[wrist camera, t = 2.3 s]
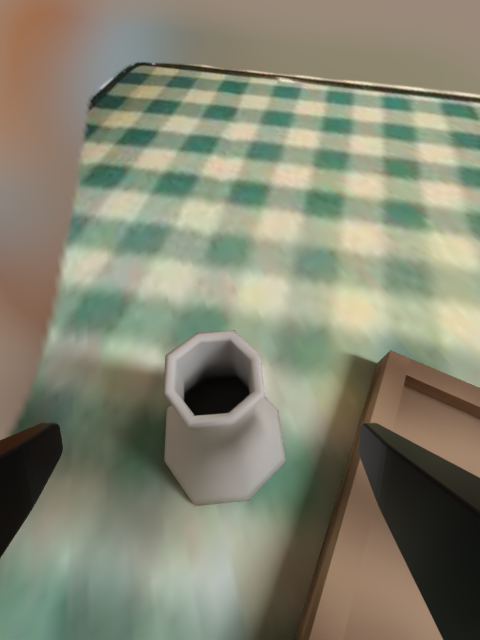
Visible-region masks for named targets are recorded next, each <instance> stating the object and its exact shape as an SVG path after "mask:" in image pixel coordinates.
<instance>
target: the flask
mask: <svg viewBox="0 0 480 640" xmlns="http://www.w3.org/2000/svg"><path fill="white" fill-rule="evenodd" d="M163 394H164V396H165V397H166V399H167V400H168V401H169V403H170V404H171V406H170V407H168V409H167V411H166V431H165V451H164V462H165V463H166V464H167V466H168V467H169V469H170V470H171V472H172V473H173V475H174V476H175V478H176V479H177V481H178V482H179V484H180V485H181V487H182V488H183V489H184V491H185V492H186V494H187V495H188V497H189V498H190V500H191V501H192V503H193V504H194V506H198V505H208V504H218V503H229V502H239V501H249V500H250V499H251V498H252V497H253V495H254V494H255V493H256V492H257V491H258V490H259V489H260V488H261V487H262V486H263V485H264V484H265V483H266V482H267V481H268V480H269V479H270V478H271V476H272V475H273V474H274V473H275V472H276V471H277V470H278V469H279V468H280V467H281V466H282V465H283V464H284V463H285V462H286V459H285V452H284V445H283V438H282V432H281V425H280V418H279V411H278V409H277V408H276V407H275V406H274V405H273V404H272V403H271V402H270V401H269V400H268V399H267V398H266V397H265V390H264V382H263V375H262V367H261V359H260V355H259V354H258V353H257V352H256V351H255V350H254V349H253V348H252V347H251V346H250V345H249V344H248V343H247V342H246V341H245V340H244V339H243V338H242V337H241V336H240V335H239V334H238V333H237V332H236V331H235V330H232V331H216V332H200V333H196V334H195V335H193V336H192V337H190V338H189V339H188V340H186V341H185V342H183V343H182V344H181V345H179V346H178V347H176V348H175V349H174V350H172V351H171V352H169V353H168V354H167V355H166V357H165V375H164V392H163Z"/></svg>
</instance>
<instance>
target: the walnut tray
mask: <svg viewBox="0 0 480 640" xmlns="http://www.w3.org/2000/svg"><path fill="white" fill-rule="evenodd" d="M363 423H378V424H380V425H381V426H383V427H385V428H387V429H389V430H391V431H393V432H395V433H396V434H398V435H400V436H402V437H404V438H406V439H408V440H410V441H412V442H413V443H415V444H417V445H419V446H421V447H423V448H425V449H427V450H428V451H430V452H432V453H434V454H436V455H438V456H440V457H442V458H444V459H445V460H447V461H449V462H451V463H453V464H455V465H457V466H459V467H461V468H462V469H464V470H466V471H468V472H470V473H472V474H474V475H476V476H478V477H479V478H480V388H478V387H476V386H474V385H471V384H469V383H467V382H464V381H462V380H459V379H457V378H455V377H452V376H450V375H448V374H445V373H443V372H441V371H438V370H436V369H434V368H431V367H429V366H426V365H424V364H422V363H419V362H417V361H415V360H412V359H410V358H408V357H405V356H403V355H401V354H398V353H396V352H393V351H391V350H390V351H389V352H388V353H387V354H386V355H385V356H384V357H383V358H382V359H381V360H380V361H379V362H378V363H377V367H376V370H375V373H374V377H373V380H372V383H371V387H370V390H369V393H368V397H367V400H366V403H365V407H364V410H363V413H362V417H361V420H360V423H359V427H358V430H357V433H356V437H355V440H354V443H353V447H352V450H351V453H350V457H349V460H348V463H347V466H346V470H345V473H344V476H343V480H342V483H341V486H340V490H339V493H338V496H337V500H336V503H335V506H334V510H333V513H332V516H331V520H330V523H329V526H328V530H327V533H326V536H325V540H324V543H323V546H322V550H321V553H320V556H319V560H318V563H317V566H316V570H315V573H314V576H313V580H312V583H311V586H310V590H309V593H308V596H307V600H306V603H305V606H304V610H303V613H302V616H301V620H300V623H299V626H298V630H297V633H296V636H295V640H443V638H442V636H441V634H440V632H439V630H438V628H437V626H436V624H435V622H434V620H433V618H432V616H431V614H430V612H429V610H428V608H427V606H426V603H425V601H424V599H423V597H422V595H421V593H420V591H419V589H418V587H417V585H416V583H415V581H414V579H413V577H412V575H411V573H410V571H409V569H408V567H407V564H406V562H405V560H404V558H403V556H402V554H401V552H400V550H399V548H398V546H397V544H396V542H395V540H394V538H393V536H392V534H391V532H390V530H389V527H388V525H387V523H386V521H385V519H384V517H383V515H382V513H381V511H380V509H379V506H378V504H377V501H376V499H375V496H374V494H373V491H372V488H371V486H370V483H369V480H368V477H367V475H366V472H365V469H364V467H363V464H362V461H361V458H360V456H359V451H358V445H359V436H360V428H361V425H362V424H363Z"/></svg>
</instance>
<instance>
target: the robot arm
mask: <svg viewBox="0 0 480 640" xmlns="http://www.w3.org/2000/svg"><path fill="white" fill-rule="evenodd" d="M62 450H63V445H62V439H61V433H60V427H59V425H58V424H57V423H40V424H38V425H36V426H33V427H31V428H29V429H26V430H24V431H22V432H19V433H17V434H14V435H12V436H10V437H7V438H5V439H3V440H0V558H1V556H2V555H3V553H4V552H5V550H6V549H7V547H8V546H9V544H10V542H11V541H12V539H13V538H14V536H15V535H16V533H17V532H18V530H19V529H20V527H21V526H22V524H23V523H24V521H25V520H26V518H27V516H28V515H29V513H30V512H31V510H32V508H33V507H34V505H35V503H36V501H37V500H38V498H39V496H40V494H41V492H42V490H43V489H44V487H45V485H46V483H47V481H48V479H49V477H50V475H51V474H52V472H53V470H54V468H55V466H56V464H57V462H58V460H59V459H60V457H61V454H62ZM358 451H359V456H360V458H361V461H362V464H363V467H364V469H365V472H366V475H367V477H368V480H369V483H370V486H371V488H372V491H373V494H374V496H375V499H376V501H377V504H378V506H379V509H380V511H381V513H382V515H383V517H384V519H385V521H386V523H387V525H388V527H389V530H390V532H391V534H392V536H393V538H394V540H395V542H396V544H397V546H398V548H399V550H400V552H401V554H402V556H403V558H404V560H405V562H406V564H407V567H408V569H409V571H410V573H411V575H412V577H413V579H414V581H415V583H416V585H417V587H418V589H419V591H420V593H421V595H422V597H423V599H424V601H425V603H426V606H427V608H428V610H429V612H430V614H431V616H432V618H433V620H434V622H435V624H436V626H437V628H438V630H439V632H440V634H441V636H442V638H443V640H480V478H479V477H478V476H476V475H474V474H472V473H470V472H468V471H466V470H464V469H462V468H461V467H459V466H457V465H455V464H453V463H451V462H449V461H447V460H445V459H444V458H442V457H440V456H438V455H436V454H434V453H432V452H430V451H428V450H427V449H425V448H423V447H421V446H419V445H417V444H415V443H413V442H412V441H410V440H408V439H406V438H404V437H402V436H400V435H398V434H396V433H395V432H393V431H391V430H389V429H387V428H385V427H383V426H381V425H380V424H378V423H363V424H362V425H361V428H360V436H359V445H358Z"/></svg>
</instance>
